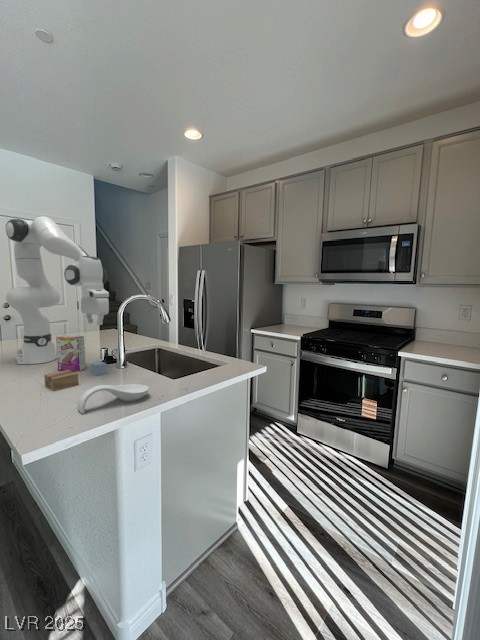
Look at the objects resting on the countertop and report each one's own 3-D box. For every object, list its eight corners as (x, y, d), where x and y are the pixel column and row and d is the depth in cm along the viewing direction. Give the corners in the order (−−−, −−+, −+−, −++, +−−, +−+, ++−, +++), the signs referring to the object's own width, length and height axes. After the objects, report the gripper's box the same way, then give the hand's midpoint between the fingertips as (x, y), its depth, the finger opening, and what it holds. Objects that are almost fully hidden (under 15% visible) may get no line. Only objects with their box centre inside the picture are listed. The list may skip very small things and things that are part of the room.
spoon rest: (139, 390, 116) (138, 372, 115) (155, 398, 108) (154, 379, 107) (73, 408, 98) (72, 387, 98) (86, 419, 90) (85, 396, 90)
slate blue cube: (90, 374, 135) (90, 363, 134) (101, 371, 139) (100, 361, 138) (95, 376, 132) (95, 365, 131) (106, 373, 136) (106, 363, 135)
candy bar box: (57, 370, 139) (55, 336, 137) (64, 367, 144) (62, 334, 142) (79, 371, 138) (77, 337, 136) (86, 368, 143) (84, 335, 141)
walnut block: (45, 386, 119) (44, 374, 118) (69, 381, 126) (68, 369, 125) (54, 391, 113) (53, 379, 113) (78, 385, 120) (77, 373, 120)
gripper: (76, 293, 135) (78, 323, 137) (96, 293, 122) (98, 326, 123) (90, 292, 140) (92, 321, 141) (110, 293, 127) (112, 324, 128)
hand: (95, 324), depth 132 cm, fingers open, 8 cm apart
